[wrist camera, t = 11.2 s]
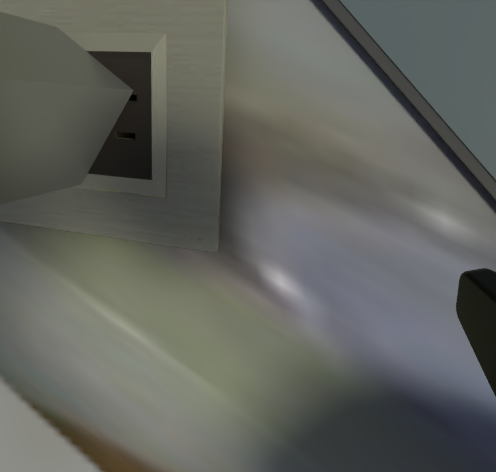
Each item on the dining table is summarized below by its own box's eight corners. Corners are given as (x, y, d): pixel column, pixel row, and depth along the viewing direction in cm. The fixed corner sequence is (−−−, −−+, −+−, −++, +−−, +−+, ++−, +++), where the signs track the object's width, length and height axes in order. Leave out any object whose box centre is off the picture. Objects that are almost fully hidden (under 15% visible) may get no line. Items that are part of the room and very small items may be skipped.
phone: (730, 104, 13) (759, 102, 12) (524, 236, 16) (534, 244, 15) (445, -228, 13) (451, -257, 12) (284, -40, 16) (278, -51, 15)
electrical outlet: (2, 208, 23) (-38, 217, 21) (-21, -8, 20) (-70, -24, 18) (231, 239, 19) (213, 254, 17) (243, -15, 17) (223, -36, 14)
